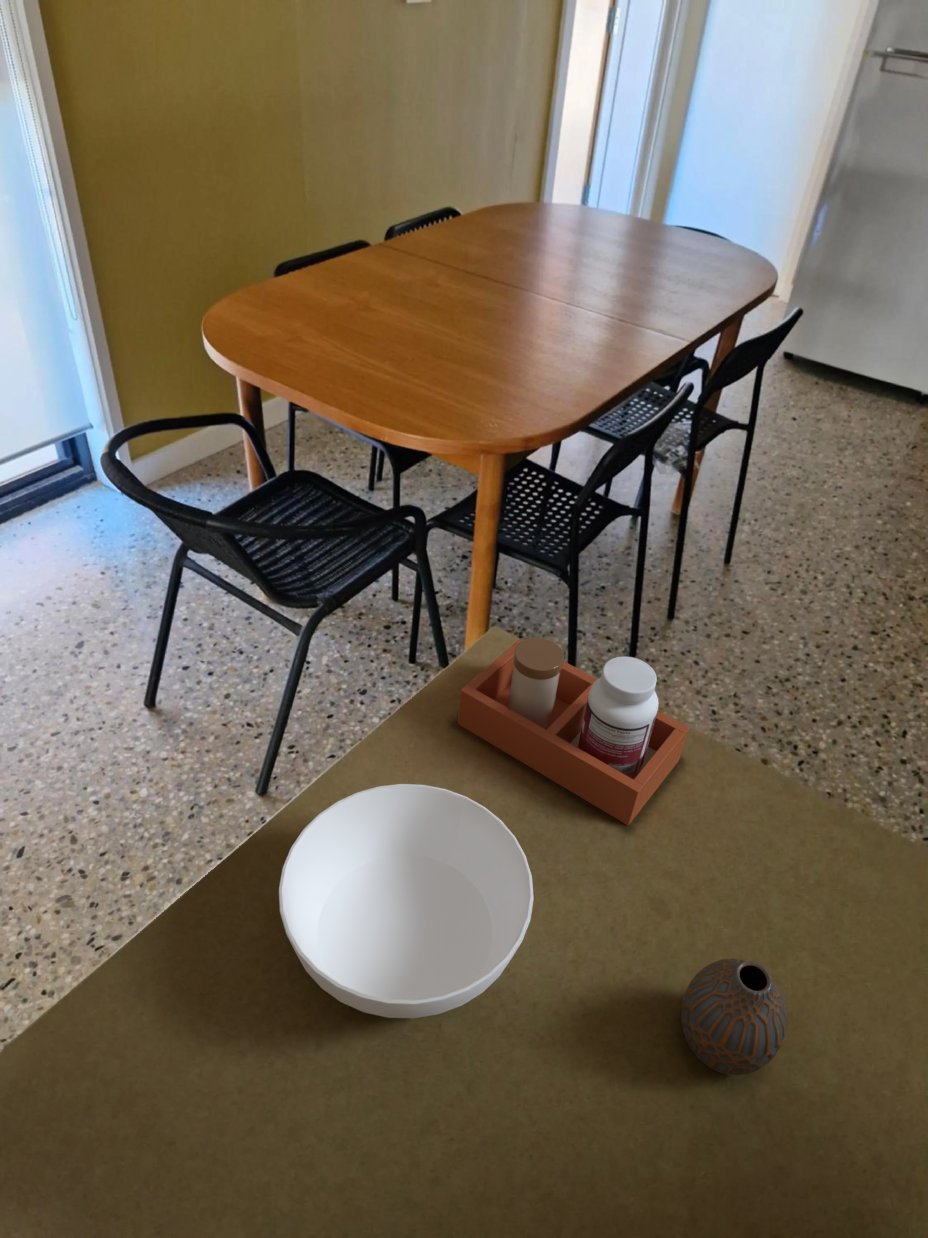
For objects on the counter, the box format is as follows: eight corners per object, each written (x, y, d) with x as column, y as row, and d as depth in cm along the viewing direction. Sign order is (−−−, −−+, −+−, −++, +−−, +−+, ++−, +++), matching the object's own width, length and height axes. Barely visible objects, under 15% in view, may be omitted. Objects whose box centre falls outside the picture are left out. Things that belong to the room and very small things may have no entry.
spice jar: (549, 700, 89) (561, 638, 84) (554, 733, 85) (566, 671, 80) (504, 699, 89) (512, 636, 84) (507, 732, 85) (516, 669, 80)
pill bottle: (599, 726, 86) (619, 640, 79) (654, 759, 83) (679, 673, 77) (562, 760, 83) (580, 673, 76) (618, 797, 80) (642, 709, 73)
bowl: (233, 978, 65) (223, 923, 60) (368, 807, 78) (368, 751, 73) (453, 1107, 59) (460, 1057, 54) (559, 899, 72) (572, 844, 67)
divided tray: (515, 671, 93) (520, 638, 90) (678, 761, 85) (689, 727, 82) (457, 724, 86) (460, 689, 84) (628, 826, 78) (638, 792, 75)
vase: (780, 1026, 65) (818, 962, 59) (753, 1110, 60) (792, 1050, 55) (690, 978, 67) (719, 912, 62) (658, 1055, 63) (686, 992, 57)
